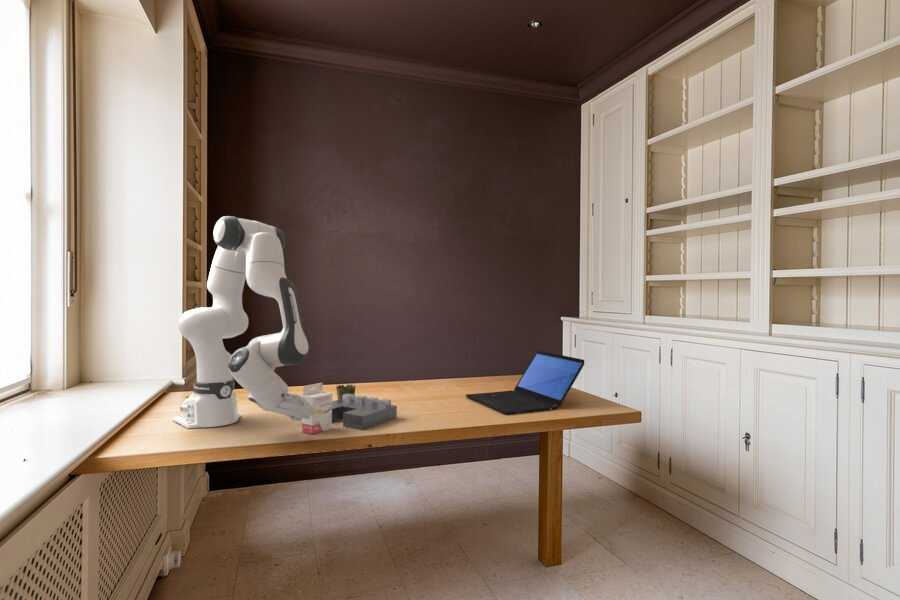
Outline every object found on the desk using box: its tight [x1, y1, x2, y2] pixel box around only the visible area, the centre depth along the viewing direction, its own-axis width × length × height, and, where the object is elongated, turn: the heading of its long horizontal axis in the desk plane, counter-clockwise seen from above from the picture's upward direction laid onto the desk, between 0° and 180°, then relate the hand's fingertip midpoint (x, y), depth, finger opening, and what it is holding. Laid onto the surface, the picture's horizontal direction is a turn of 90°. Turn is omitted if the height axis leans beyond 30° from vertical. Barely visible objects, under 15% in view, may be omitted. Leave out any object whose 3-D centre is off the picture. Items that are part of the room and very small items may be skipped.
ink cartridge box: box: [301, 382, 333, 435], centre depth 155 cm, size 9×5×15 cm, turn 149°
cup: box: [335, 383, 357, 400], centre depth 189 cm, size 8×7×8 cm
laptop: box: [465, 350, 585, 416], centre depth 200 cm, size 33×38×19 cm
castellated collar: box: [332, 394, 398, 431], centre depth 170 cm, size 24×18×6 cm
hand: (298, 419), depth 148 cm, fingers closed
